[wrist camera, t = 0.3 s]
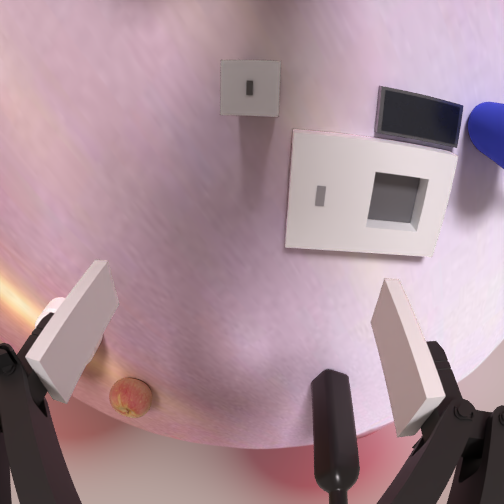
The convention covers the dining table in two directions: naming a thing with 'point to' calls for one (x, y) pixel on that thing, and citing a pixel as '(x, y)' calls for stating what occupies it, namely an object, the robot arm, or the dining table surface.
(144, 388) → the apple
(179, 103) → the dining table surface
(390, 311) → the robot arm
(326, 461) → the wine bottle
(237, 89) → the plug
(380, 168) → the cabinet panel
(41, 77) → the dining table surface
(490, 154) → the mug
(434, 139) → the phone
